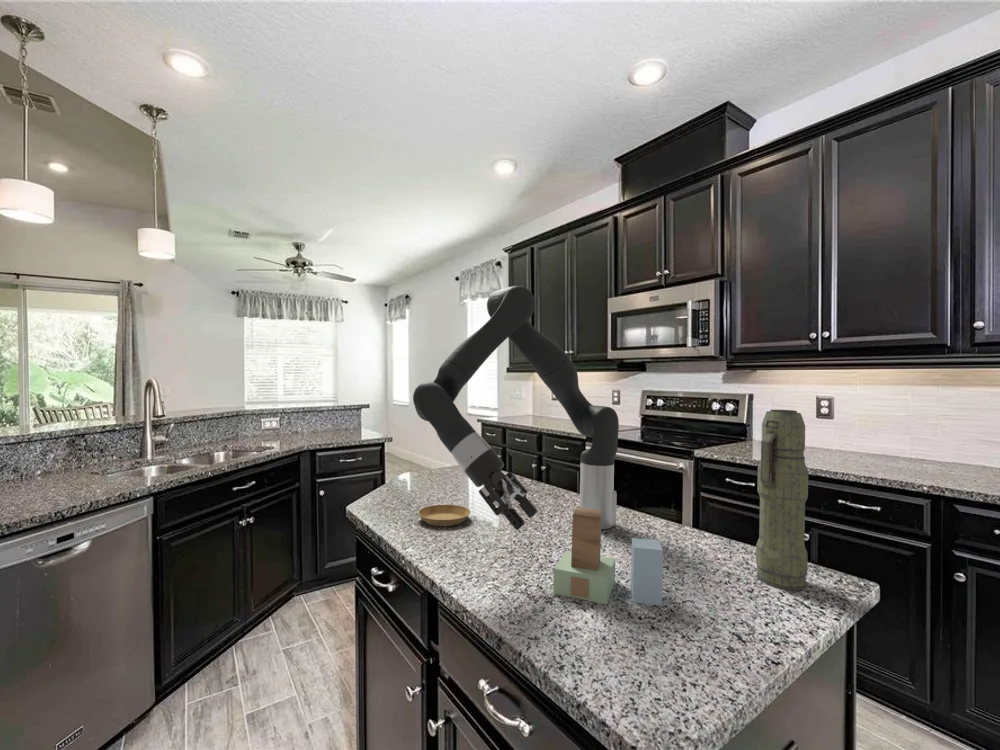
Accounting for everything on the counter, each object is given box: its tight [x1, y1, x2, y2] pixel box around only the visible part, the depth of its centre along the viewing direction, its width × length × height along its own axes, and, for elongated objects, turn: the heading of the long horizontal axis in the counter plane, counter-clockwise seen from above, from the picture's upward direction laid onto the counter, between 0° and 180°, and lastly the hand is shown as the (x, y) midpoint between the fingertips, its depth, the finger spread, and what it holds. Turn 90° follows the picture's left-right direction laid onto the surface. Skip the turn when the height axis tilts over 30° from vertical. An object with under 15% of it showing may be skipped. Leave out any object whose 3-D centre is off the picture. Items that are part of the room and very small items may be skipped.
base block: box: [552, 550, 616, 605], centre depth 88 cm, size 10×10×5 cm
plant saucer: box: [417, 504, 471, 527], centre depth 128 cm, size 15×15×3 cm
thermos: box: [755, 409, 809, 591], centre depth 93 cm, size 9×12×35 cm
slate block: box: [630, 537, 664, 606], centre depth 84 cm, size 5×5×10 cm
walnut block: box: [571, 506, 602, 571], centre depth 88 cm, size 5×5×10 cm
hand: (528, 520), depth 91 cm, fingers open, 8 cm apart
